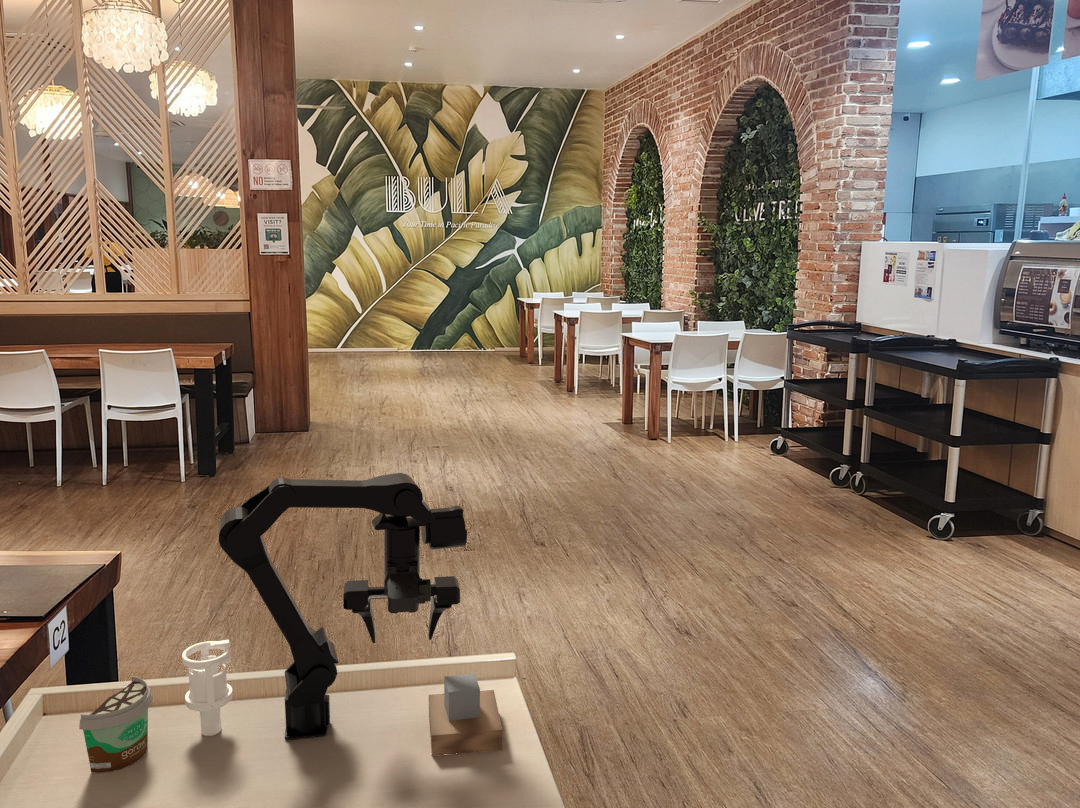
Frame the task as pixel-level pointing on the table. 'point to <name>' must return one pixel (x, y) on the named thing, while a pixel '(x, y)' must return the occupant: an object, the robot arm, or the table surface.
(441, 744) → the block
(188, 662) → the strainer
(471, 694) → the slate cube
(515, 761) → the table surface
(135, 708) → the food container
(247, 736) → the table surface
